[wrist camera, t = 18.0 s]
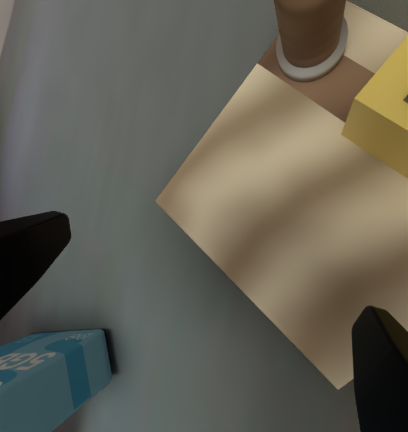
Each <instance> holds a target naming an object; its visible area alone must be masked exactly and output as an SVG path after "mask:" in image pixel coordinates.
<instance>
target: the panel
mask: <svg viewBox="0 0 408 432" xmlns="http://www.w3.org/2000/svg"><path fill="white" fill-rule="evenodd" d="M344 17H345V20H346V22H347V25H348V38H347V43H346V47H345V51H344V54H343V57H342V59H341V60H340V62H339V64H338V65H337V66H336V67H335V68H334V69H333V70H332V71H331V72H330V73H329V74H327V75H326V76H324V77H323V78H321V79H318V80H316V81H312V82H304V83H302V82H296V81H293V80H291V79H289V78H287V77H286V76H285V75H284V74H283V73H282V71H281V69H280V67H279V64H278V59H277V55H276V43H277V39H278V36H279V35H278V36H277V38H276V39H275V40H274V42H273V43H272V44H271V46H270V47H269V48H268V50H267V51H266V52H265V54H264V55H263V57H262V58H261V59H260V61H259V62H258V63H257V65H256V66H255V67H254V69H253V70H252V71H251V73H250V74H249V75H248V77H247V78H246V79H245V81H244V82H243V83H242V85H241V86H240V88H239V89H238V90H237V92H236V93H235V94H234V96H233V97H232V98H231V100H230V101H229V102H228V104H227V105H226V106H225V108H224V109H223V110H222V112H221V113H220V114H219V116H218V117H217V118H216V120H215V121H214V123H213V124H212V125H211V127H210V128H209V129H208V131H207V132H206V133H205V135H204V136H203V137H202V139H201V140H200V141H199V143H198V144H197V145H196V147H195V148H194V149H193V151H192V152H191V154H190V155H189V156H188V158H187V159H186V160H185V162H184V163H183V164H182V166H181V167H180V168H179V170H178V171H177V172H176V174H175V175H174V176H173V178H172V179H171V180H170V182H169V183H168V185H167V186H166V187H165V189H164V190H163V191H162V193H161V194H160V195H159V197H158V198H157V199H156V201H155V202H156V203H157V204H158V205H159V206H160V207H161V208H162V209H163V210H164V211H165V212H166V213H167V214H168V215H169V216H170V217H171V218H172V219H173V220H174V221H175V222H176V223H177V224H178V225H179V226H180V227H181V228H182V229H183V230H184V231H185V232H186V233H187V235H188V236H189V237H190V238H191V239H192V240H193V241H194V242H195V243H196V244H197V245H198V246H199V247H200V248H201V249H202V250H203V251H204V252H205V253H206V254H207V255H208V256H209V257H210V258H211V259H212V260H213V261H214V262H215V263H216V264H217V265H218V266H219V268H220V269H221V270H222V271H223V272H224V273H225V274H226V275H227V276H228V277H229V278H230V279H231V280H232V281H233V282H234V283H235V284H236V285H237V286H238V287H239V288H240V289H241V290H242V291H243V292H244V293H245V294H246V295H247V296H248V297H249V298H250V299H251V301H252V302H253V303H254V304H255V305H256V306H257V307H258V308H259V309H260V310H261V311H262V312H263V313H264V314H265V315H266V316H267V317H268V318H269V319H270V320H271V321H272V322H273V323H274V324H275V325H276V326H277V327H278V328H279V329H280V330H281V331H282V333H283V334H284V335H285V336H286V337H287V338H288V339H289V340H290V341H291V342H292V343H293V344H294V345H295V346H296V347H297V348H298V349H299V350H300V351H301V352H302V353H303V354H304V355H305V356H306V357H307V358H308V359H309V360H310V361H311V362H312V363H313V364H314V366H315V367H316V368H317V369H318V370H319V371H320V372H321V373H322V374H323V375H324V376H325V377H326V378H327V379H328V380H329V381H330V382H331V383H332V384H333V385H334V386H335V387H336V388H337V389H338V390H339V389H340V388H341V387H343V386H344V385H346V384H347V383H348V382H350V381H351V380H352V379H354V376H353V356H352V335H351V331H352V326H353V324H354V322H355V321H356V320H357V318H358V317H359V315H360V314H361V312H362V311H363V309H364V308H365V307H366V306H368V305H372V306H375V307H379V308H382V309H385V310H387V311H388V312H389V313H390V314H391V315H392V316H393V317H394V318H395V319H396V320H397V321H398V322H399V323H400V324H401V325H402V326H403V327H404V328H405V329H406V330H407V331H408V179H407V178H406V177H404V176H403V175H401V174H400V173H398V172H397V171H395V170H394V169H392V168H391V167H389V166H388V165H386V164H385V163H383V162H382V161H380V160H379V159H377V158H376V157H374V156H373V155H371V154H370V153H368V152H367V151H365V150H364V149H362V148H361V147H359V146H357V145H356V144H354V143H353V142H351V141H350V140H348V139H347V138H345V137H344V136H342V135H341V133H342V130H343V128H344V125H345V122H346V119H347V117H348V114H349V111H350V108H351V106H352V103H353V100H354V98H355V97H356V96H357V94H358V93H359V92H360V91H361V90H362V89H363V87H364V86H365V85H366V84H367V83H368V82H369V80H370V79H371V78H372V77H373V76H374V75H375V73H376V72H377V71H378V70H379V69H380V68H381V66H382V65H383V64H384V63H385V62H386V61H387V59H388V58H389V57H390V56H391V55H392V54H393V52H394V51H395V50H396V49H397V48H398V47H399V45H400V44H401V43H402V42H403V41H404V40H405V38H406V37H407V36H408V32H406V31H404V30H403V29H401V28H399V27H397V26H395V25H393V24H391V23H389V22H387V21H385V20H383V19H381V18H379V17H378V16H376V15H374V14H372V13H370V12H368V11H366V10H364V9H362V8H360V7H358V6H356V5H354V4H353V3H351V2H349V1H347V0H346V4H345V10H344Z"/></svg>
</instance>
